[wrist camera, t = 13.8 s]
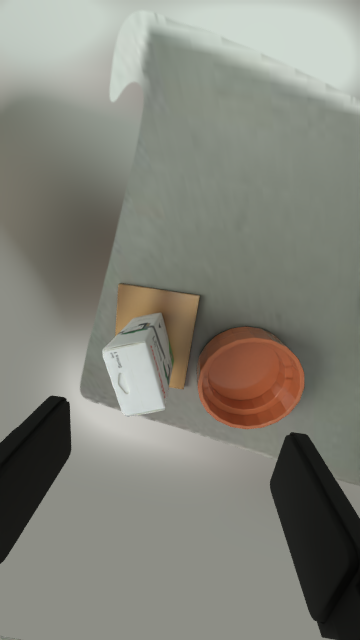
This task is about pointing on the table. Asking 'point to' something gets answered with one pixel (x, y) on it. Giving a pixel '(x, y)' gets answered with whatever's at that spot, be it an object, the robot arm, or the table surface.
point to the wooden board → (176, 317)
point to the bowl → (248, 378)
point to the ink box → (140, 365)
